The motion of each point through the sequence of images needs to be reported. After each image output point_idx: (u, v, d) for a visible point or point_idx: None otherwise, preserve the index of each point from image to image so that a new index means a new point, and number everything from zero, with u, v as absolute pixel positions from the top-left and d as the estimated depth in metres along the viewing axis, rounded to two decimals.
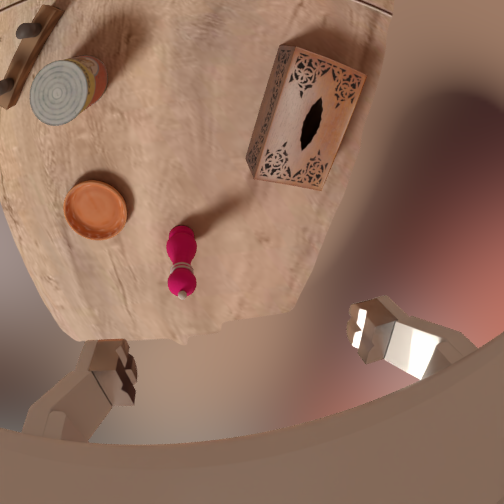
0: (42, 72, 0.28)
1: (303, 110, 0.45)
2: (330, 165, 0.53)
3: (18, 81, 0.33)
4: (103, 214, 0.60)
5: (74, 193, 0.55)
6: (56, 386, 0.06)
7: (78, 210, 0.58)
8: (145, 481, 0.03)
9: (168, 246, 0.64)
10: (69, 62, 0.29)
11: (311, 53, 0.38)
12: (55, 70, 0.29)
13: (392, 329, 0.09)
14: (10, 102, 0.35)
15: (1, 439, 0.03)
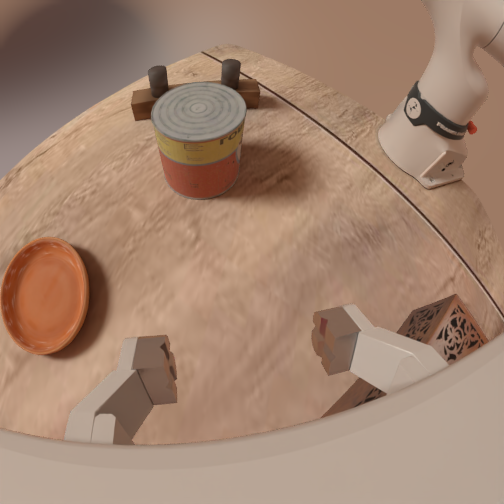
0: (211, 85, 0.32)
1: None
2: None
3: None
4: (42, 313, 0.30)
5: (52, 250, 0.33)
6: (98, 387, 0.06)
7: (31, 272, 0.32)
8: (145, 481, 0.03)
9: None
10: (242, 100, 0.31)
11: (467, 311, 0.27)
12: (223, 93, 0.32)
13: (355, 340, 0.08)
14: (140, 105, 0.41)
15: (1, 439, 0.03)
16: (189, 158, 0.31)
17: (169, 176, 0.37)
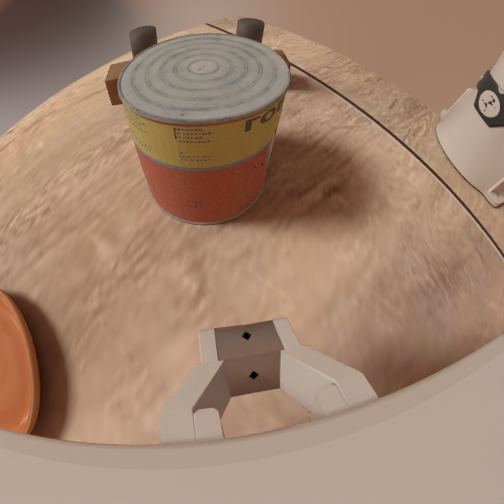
0: (225, 37, 0.17)
1: None
2: None
3: None
4: None
5: None
6: (187, 382, 0.07)
7: None
8: (145, 481, 0.03)
9: None
10: (281, 60, 0.17)
11: None
12: (246, 48, 0.17)
13: (277, 359, 0.08)
14: (117, 82, 0.26)
15: (1, 439, 0.03)
16: (185, 157, 0.16)
17: (153, 187, 0.22)
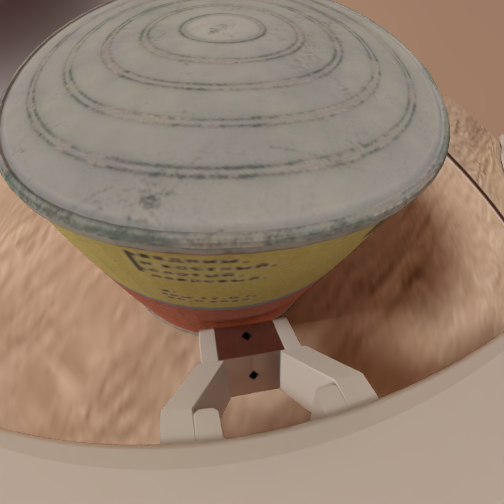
0: None
1: None
2: None
3: None
4: None
5: None
6: (187, 382, 0.07)
7: None
8: (145, 481, 0.03)
9: None
10: (394, 40, 0.06)
11: None
12: (315, 5, 0.07)
13: (278, 359, 0.08)
14: None
15: (1, 439, 0.03)
16: (178, 296, 0.06)
17: None
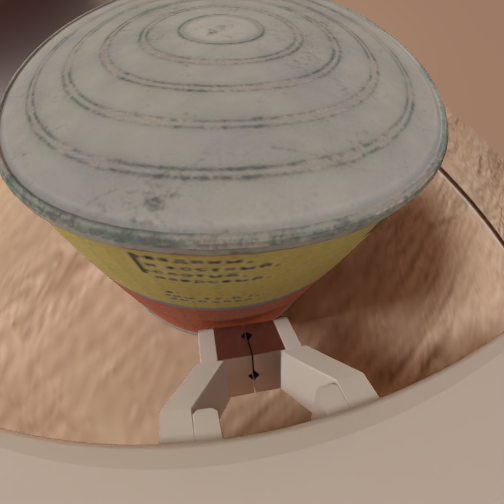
0: None
1: None
2: None
3: None
4: None
5: None
6: (186, 382, 0.07)
7: None
8: (145, 481, 0.03)
9: None
10: (391, 39, 0.06)
11: None
12: (312, 5, 0.07)
13: (278, 359, 0.08)
14: None
15: (1, 440, 0.03)
16: (181, 297, 0.06)
17: None
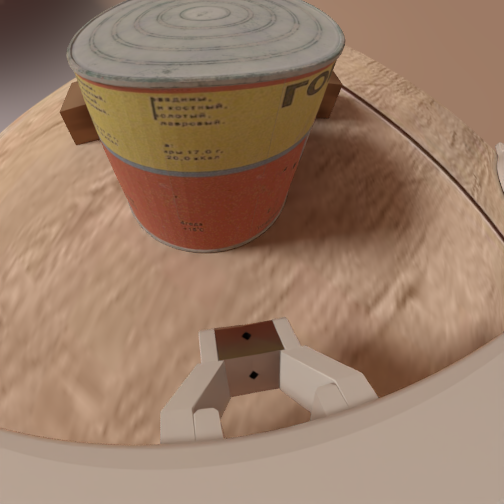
0: None
1: None
2: None
3: None
4: None
5: None
6: (187, 382, 0.07)
7: None
8: (145, 481, 0.03)
9: None
10: (322, 13, 0.10)
11: None
12: None
13: (277, 359, 0.08)
14: (78, 112, 0.17)
15: (1, 439, 0.03)
16: (174, 153, 0.09)
17: (131, 201, 0.15)
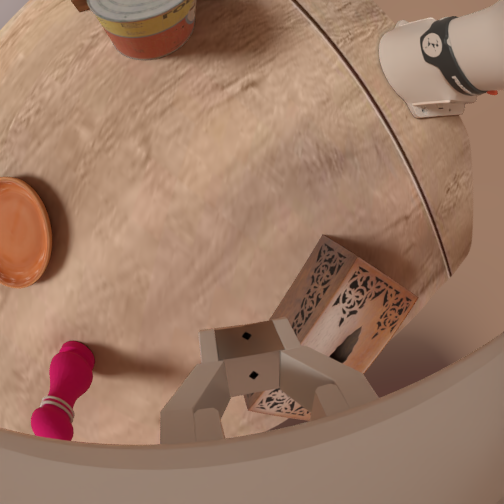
0: None
1: (336, 341, 0.36)
2: None
3: None
4: (13, 247, 0.31)
5: (8, 186, 0.28)
6: (187, 382, 0.07)
7: None
8: (145, 481, 0.03)
9: (57, 361, 0.32)
10: None
11: (371, 268, 0.33)
12: None
13: (277, 359, 0.08)
14: None
15: (1, 439, 0.03)
16: (129, 33, 0.20)
17: (113, 42, 0.24)
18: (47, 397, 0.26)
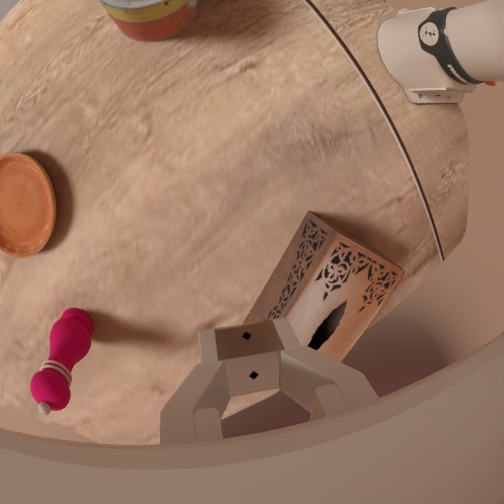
0: None
1: (321, 315, 0.38)
2: None
3: None
4: (19, 219, 0.32)
5: (15, 161, 0.29)
6: (187, 382, 0.07)
7: (1, 184, 0.30)
8: (145, 481, 0.03)
9: (58, 328, 0.35)
10: None
11: (353, 244, 0.35)
12: None
13: (277, 359, 0.08)
14: None
15: (1, 439, 0.03)
16: (133, 18, 0.20)
17: (118, 25, 0.24)
18: (47, 361, 0.30)
